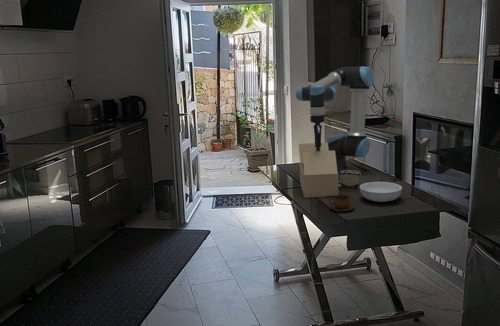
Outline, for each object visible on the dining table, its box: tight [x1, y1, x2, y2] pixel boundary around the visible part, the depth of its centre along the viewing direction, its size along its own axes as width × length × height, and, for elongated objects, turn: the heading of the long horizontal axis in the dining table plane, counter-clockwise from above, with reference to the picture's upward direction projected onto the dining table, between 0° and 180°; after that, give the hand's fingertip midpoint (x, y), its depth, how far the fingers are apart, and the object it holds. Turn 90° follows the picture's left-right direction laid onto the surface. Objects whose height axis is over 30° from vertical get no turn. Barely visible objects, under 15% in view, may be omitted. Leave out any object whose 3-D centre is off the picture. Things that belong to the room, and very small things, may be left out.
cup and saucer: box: [328, 194, 355, 212], centre depth 232 cm, size 12×12×6 cm
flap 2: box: [303, 151, 339, 176], centre depth 253 cm, size 17×14×1 cm
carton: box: [299, 162, 339, 199], centre depth 265 cm, size 18×28×12 cm, turn 178°
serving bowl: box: [359, 181, 403, 203], centre depth 243 cm, size 21×21×7 cm
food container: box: [338, 169, 362, 191], centre depth 264 cm, size 12×6×10 cm, turn 65°
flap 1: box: [298, 142, 329, 164], centre depth 281 cm, size 17×14×1 cm
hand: (318, 158), depth 259 cm, fingers closed
